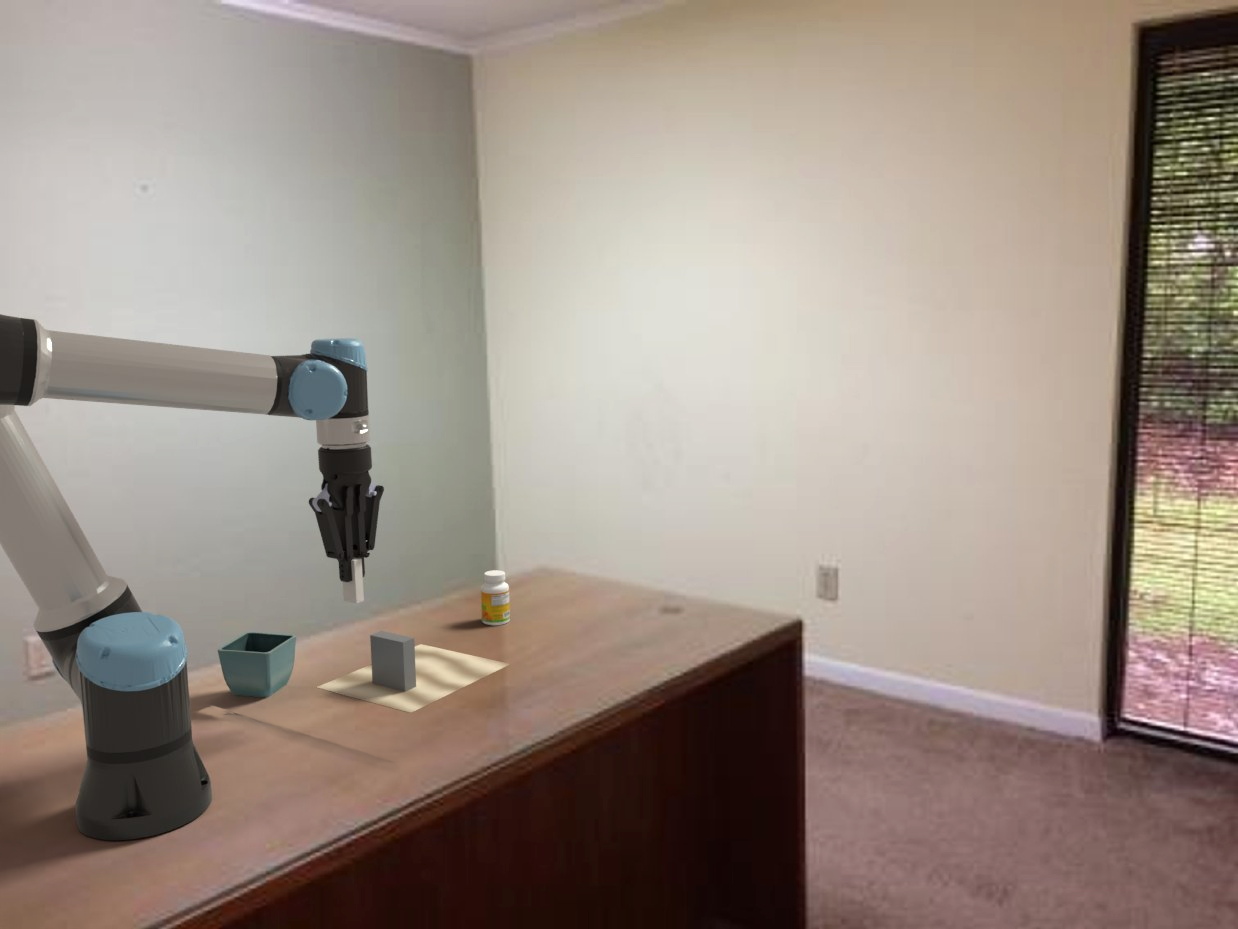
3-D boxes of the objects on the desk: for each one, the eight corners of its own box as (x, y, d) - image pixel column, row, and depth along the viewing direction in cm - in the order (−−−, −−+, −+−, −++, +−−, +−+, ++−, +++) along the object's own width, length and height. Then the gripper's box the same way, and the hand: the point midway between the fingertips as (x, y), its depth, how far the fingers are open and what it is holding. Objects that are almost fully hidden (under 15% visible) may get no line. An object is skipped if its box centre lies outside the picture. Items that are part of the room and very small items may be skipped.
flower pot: (272, 709, 158) (268, 652, 156) (219, 705, 160) (215, 649, 158) (300, 688, 166) (297, 634, 165) (250, 684, 168) (247, 631, 167)
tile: (405, 691, 161) (403, 642, 160) (372, 683, 165) (370, 635, 163) (417, 685, 163) (415, 637, 162) (385, 677, 167) (383, 630, 166)
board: (410, 720, 153) (410, 712, 153) (316, 694, 163) (316, 687, 163) (510, 670, 173) (510, 664, 173) (420, 650, 184) (420, 644, 183)
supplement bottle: (479, 619, 202) (478, 570, 200) (506, 616, 203) (505, 568, 202) (484, 627, 196) (483, 577, 195) (512, 624, 198) (511, 575, 197)
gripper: (328, 452, 144) (338, 616, 147) (394, 440, 155) (402, 593, 158) (291, 449, 148) (302, 608, 151) (358, 437, 158) (367, 586, 162)
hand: (353, 600), depth 155 cm, fingers closed
